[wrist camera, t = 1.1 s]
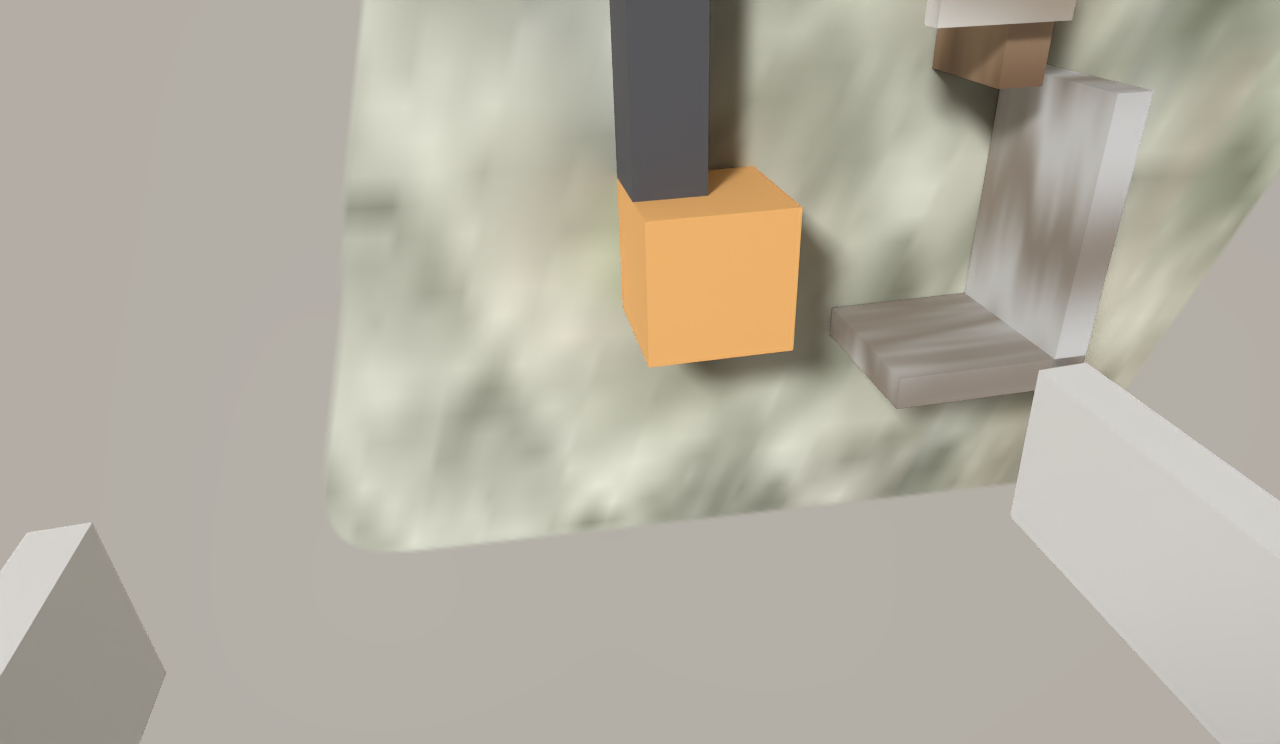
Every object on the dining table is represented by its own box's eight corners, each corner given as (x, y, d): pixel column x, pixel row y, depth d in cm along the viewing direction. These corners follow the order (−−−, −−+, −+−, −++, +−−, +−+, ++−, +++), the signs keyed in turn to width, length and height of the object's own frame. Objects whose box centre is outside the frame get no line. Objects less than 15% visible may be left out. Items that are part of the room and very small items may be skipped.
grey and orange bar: (595, -331, 23) (627, -390, 18) (771, -330, 23) (842, -385, 19) (622, 306, 32) (648, 367, 28) (748, 293, 33) (793, 350, 28)
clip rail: (890, -351, 24) (1012, -426, 19) (1111, -348, 25) (1284, -417, 20) (829, 334, 34) (896, 409, 29) (986, 316, 35) (1077, 384, 30)
